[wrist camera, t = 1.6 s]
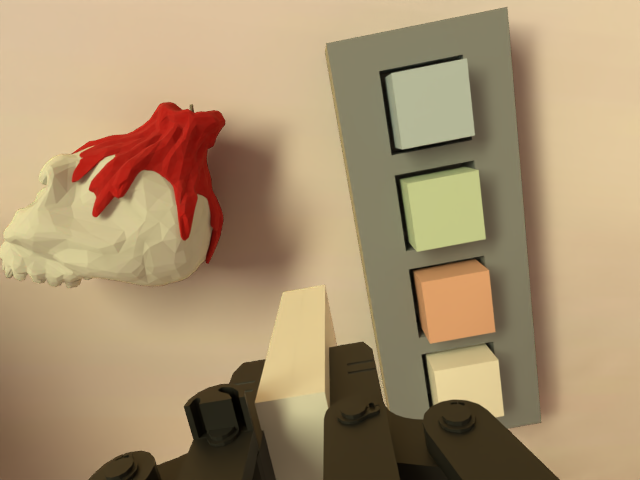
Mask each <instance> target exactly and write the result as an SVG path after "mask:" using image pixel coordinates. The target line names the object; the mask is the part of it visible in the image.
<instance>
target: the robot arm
mask: <svg viewBox="0 0 640 480" xmlns="http://www.w3.org/2000/svg"><path fill="white" fill-rule="evenodd" d="M184 409H185V412H186V416H187V419H188V422H189V426H190V429H191V433H192V436H193V439H194V440H193V442H192V445H191V447H190V450H189V452H188V453H187V454H185V455H182V456H180V457H178V458H175V459H173V460H170V461H167V462H165V463H162V464H160V465H156V462H155V458H154V457H153V456H152V455H151V454H150V453H149V452H144V451H135V452H129V453H126V454H124V455H120V456H118V457H116V458H114V459H113V460H111V461H109V462H108V463H106V464H104V465H103V466H102V467H101V468H100V469H99V470H98V471H96V472H95V473H94V474H93V475H92V476H91V477H90V479H89V480H560V479H559V478H558V477H556V476H555V475H554V474H553V473H552V472H551V471H550V470H549V469H548V468H547V467H546V466H545V465H544V464H543V463H542V462H541V461H540V460H539V459H538V458H537V457H536V456H535V455H534V454H533V453H532V452H531V451H530V450H529V449H528V448H526V447H525V446H524V445H523V444H522V443H521V442H520V441H519V440H518V439H517V438H516V437H515V436H514V435H513V434H512V433H511V432H510V431H509V430H508V429H507V428H506V427H505V426H504V425H503V424H502V423H501V422H500V421H499V420H498V419H497V418H495V417H494V416H493V415H492V414H491V413H490V412H489V411H488V410H487V409H485V408H484V407H482V406H481V405H479V404H477V403H474V402H471V401H467V400H454V399H453V400H448V401H442V402H439V403H437V404H435V405H433V406H431V407H430V408H429V409H428V410H427V411H426V412H425V414H424V418H423V420H422V419H411V418H405V417H402V416H399V415H396V414H394V413H393V412H391V411H389V409H388V408H387V407H386V406H385V404H384V402H383V398H382V394H381V389H380V384H379V379H378V374H377V370H376V365H375V360H374V355H373V351H372V349H371V348H370V347H369V346H368V345H367V344H365V343H364V342H358V343H352V344H346V345H340V346H337V343H336V338H335V333H334V328H333V323H332V318H331V313H330V308H329V303H328V298H327V293H326V287H325V285H320V286H315V287H309V288H303V289H298V290H292V291H286V292H283V294H282V298H281V302H280V306H279V310H278V313H277V317H276V321H275V325H274V329H273V333H272V337H271V341H270V345H269V349H268V353H267V357H266V359H264V360H258V361H252V362H246V363H243V364H242V365H241V366H240V367H239V368H238V369H237V370H236V371H235V372H234V373H233V375H232V378H231V380H230V383H229V384H220V385H216V386H213V387H209V388H207V389H205V390H203V391H201V392H199V393H197V394H196V395H194V396H193V397H192V398H190V399H189V400H188V402H187V403H186V404H185V406H184Z"/></svg>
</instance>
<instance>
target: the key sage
mask: <svg viewBox="0 0 640 480" xmlns="http://www.w3.org/2000/svg"><path fill="white" fill-rule="evenodd" d="M399 180H400V187H401V194H402V200H403V207H404V214H405V221H406V228H407V234H408V241H409V243H410V244H411V245H412V247H413V248H414V249H415V250H416V251H417V252H419V251H424V250H430V249H435V248H440V247H446V246H451V245H457V244H462V243H467V242H473V241H478V240H483V239H486V236H485V227H484V217H483V207H482V198H481V188H480V179H479V170H476V169H472V168H468V167H460V168H455V169H450V170H444V171H439V172H434V173H429V174H423V175H418V176H413V177H408V178H403V179H399Z"/></svg>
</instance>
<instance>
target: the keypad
mask: <svg viewBox="0 0 640 480" xmlns="http://www.w3.org/2000/svg"><path fill="white" fill-rule="evenodd" d="M325 55H326V61H327V67H328V72H329V78H330V84H331V89H332V95H333V101H334V107H335V112H336V118H337V124H338V129H339V135H340V141H341V147H342V152H343V158H344V164H345V169H346V175H347V181H348V187H349V192H350V198H351V204H352V209H353V215H354V221H355V227H356V232H357V238H358V244H359V249H360V255H361V261H362V267H363V272H364V278H365V284H366V289H367V295H368V301H369V306H370V312H371V318H372V324H373V329H374V335H375V341H376V346H377V352H378V358H379V364H380V369H381V375H382V381H383V386H384V392H385V398H386V404H387V408H388V409H389V411H391V412H393V413H394V414H396V415H399V416H402V417H405V418H411V419H422V420H423V418H424V414H425V412H426V411H427V410H428V409H429V408H430V407H431V406H433V404H432V398H431V391H430V384H429V377H428V370H427V364H426V357H425V354H426V353H432V352H438V351H443V350H449V349H454V348H460V347H466V346H471V345H477V344H483V343H485V344H486V345H487V346H488V348H489V349H490V350H491V351H492V353H493V354H494V355H495V356H496V358H497V359H498V361H499V371H500V380H501V390H502V400H503V409H504V416H501V417H495V418H497V419H498V420H499V421H500V422H501V423H502V424H503V425H504V426H505V427H506V428H507V429H508V428H514V427H520V426H525V425H531V424H537V423H541V414H540V402H539V390H538V377H537V365H536V353H535V341H534V328H533V316H532V304H531V292H530V279H529V267H528V255H527V243H526V230H525V218H524V206H523V194H522V181H521V169H520V157H519V145H518V133H517V120H516V108H515V96H514V84H513V71H512V59H511V47H510V35H509V22H508V10H507V7H505V8H500V9H495V10H490V11H485V12H480V13H475V14H470V15H465V16H460V17H455V18H450V19H445V20H440V21H435V22H430V23H426V24H421V25H416V26H411V27H406V28H401V29H396V30H391V31H386V32H381V33H376V34H371V35H366V36H361V37H356V38H351V39H346V40H341V41H336V42H331V43H326V49H325ZM466 58H467V63H468V73H469V83H470V92H471V102H472V111H473V121H474V131H475V136H469V137H464V138H459V139H454V140H449V141H443V142H438V143H433V144H428V145H423V146H418V147H412V148H407V149H398V148H395V146H394V139H393V132H392V126H391V119H390V112H389V105H388V98H387V92H386V85H385V77H387V76H388V75H390V74H391V73H395V72H400V71H405V70H410V69H415V68H420V67H425V66H430V65H435V64H440V63H445V62H450V61H455V60H461V59H466ZM460 167H468V168H472V169H476V170H479V179H480V188H481V198H482V207H483V217H484V227H485V236H486V239H483V240H478V241H473V242H467V243H462V244H457V245H451V246H446V247H440V248H435V249H430V250H424V251H419V252H417V251H416V250H415V249H414V248H413V247H412V245H411V244H410V243H409V241H408V234H407V228H406V221H405V214H404V207H403V200H402V194H401V187H400V180H399V179H403V178H408V177H413V176H418V175H423V174H429V173H434V172H439V171H444V170H450V169H455V168H460ZM471 259H476V260H477V261H478V262H480V263H481V264H482V265H483V266H484V267H486V268H487V269H488V270H489V275H490V284H491V294H492V304H493V313H494V323H495V332H493V333H487V334H482V335H476V336H471V337H465V338H459V339H454V340H448V341H443V342H437V343H432V344H430V343H429V341H428V339H427V337H426V335H425V333H424V332H423V330H422V328H421V323H420V316H419V309H418V302H417V296H416V289H415V282H414V275H413V270H417V269H423V268H428V267H433V266H439V265H444V264H450V263H455V262H461V261H466V260H471Z"/></svg>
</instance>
